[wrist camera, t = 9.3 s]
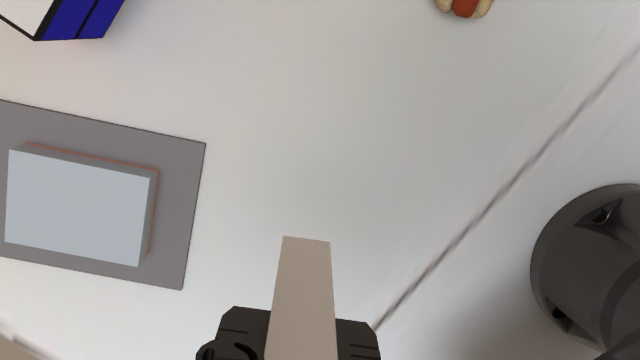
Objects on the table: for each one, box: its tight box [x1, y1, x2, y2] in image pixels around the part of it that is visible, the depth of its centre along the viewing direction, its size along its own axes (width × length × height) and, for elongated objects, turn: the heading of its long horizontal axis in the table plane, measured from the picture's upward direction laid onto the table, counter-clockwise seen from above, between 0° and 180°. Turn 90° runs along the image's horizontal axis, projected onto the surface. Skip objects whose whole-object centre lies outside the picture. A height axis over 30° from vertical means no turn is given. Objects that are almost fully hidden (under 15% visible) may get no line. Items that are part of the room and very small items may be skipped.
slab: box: [4, 142, 159, 267], centre depth 42 cm, size 3×8×11 cm
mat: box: [0, 100, 206, 291], centre depth 43 cm, size 22×14×1 cm, turn 77°
